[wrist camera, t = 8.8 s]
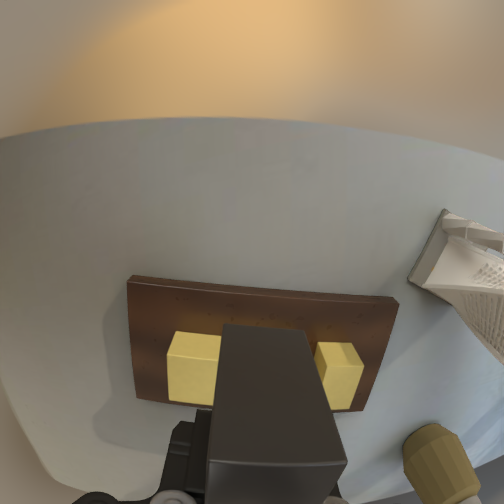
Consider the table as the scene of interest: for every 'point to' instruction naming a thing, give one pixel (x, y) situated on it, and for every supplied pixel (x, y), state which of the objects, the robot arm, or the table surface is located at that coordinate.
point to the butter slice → (338, 372)
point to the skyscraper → (466, 276)
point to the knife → (270, 422)
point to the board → (249, 324)
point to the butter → (193, 367)
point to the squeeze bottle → (439, 467)
